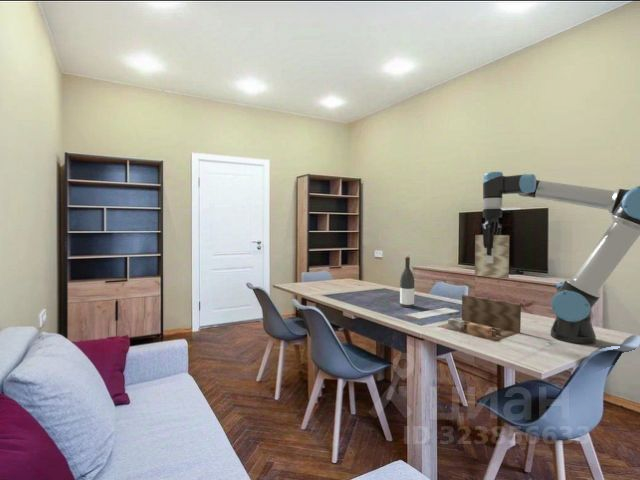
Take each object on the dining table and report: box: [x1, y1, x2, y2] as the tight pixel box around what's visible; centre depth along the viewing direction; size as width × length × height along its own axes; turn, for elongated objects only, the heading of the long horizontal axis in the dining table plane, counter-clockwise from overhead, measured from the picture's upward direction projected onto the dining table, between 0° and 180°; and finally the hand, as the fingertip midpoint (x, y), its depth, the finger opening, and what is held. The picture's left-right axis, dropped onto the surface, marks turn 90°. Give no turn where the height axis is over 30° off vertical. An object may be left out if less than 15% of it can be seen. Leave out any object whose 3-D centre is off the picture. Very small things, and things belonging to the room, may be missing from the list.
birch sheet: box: [474, 234, 510, 279], centre depth 150 cm, size 14×2×18 cm, turn 36°
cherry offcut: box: [467, 323, 492, 339], centre depth 141 cm, size 9×3×4 cm, turn 36°
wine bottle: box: [399, 254, 415, 308], centre depth 202 cm, size 8×8×30 cm
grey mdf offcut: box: [447, 317, 464, 331], centre depth 150 cm, size 6×3×4 cm, turn 36°
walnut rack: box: [437, 294, 522, 343], centre depth 150 cm, size 26×21×14 cm
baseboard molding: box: [403, 306, 460, 320], centre depth 184 cm, size 31×3×12 cm
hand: (491, 262), depth 150 cm, fingers closed on birch sheet, 2 cm apart
